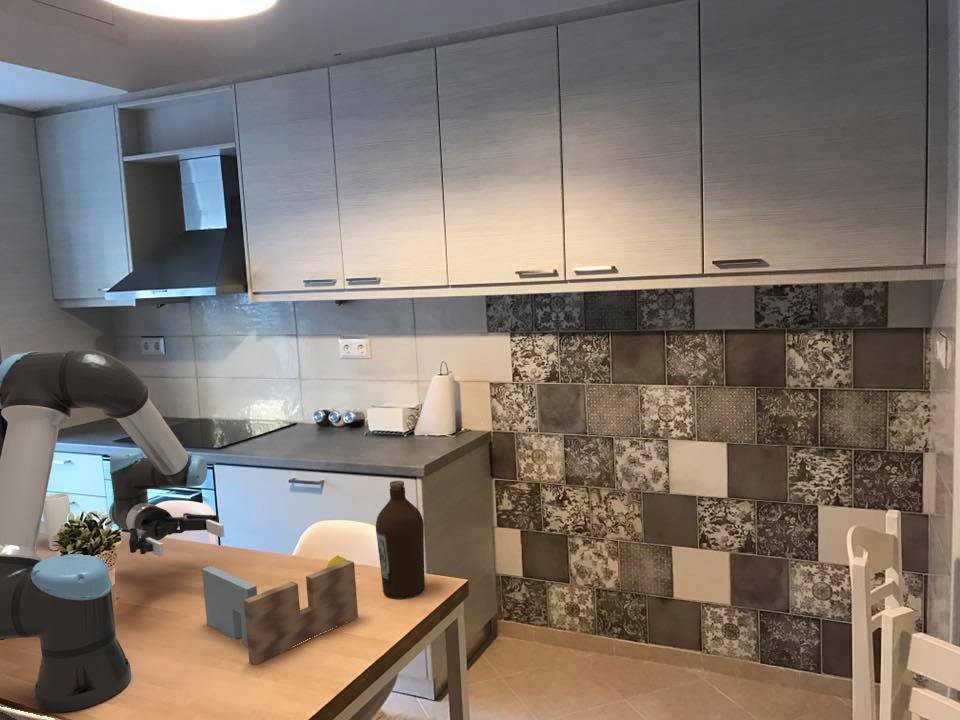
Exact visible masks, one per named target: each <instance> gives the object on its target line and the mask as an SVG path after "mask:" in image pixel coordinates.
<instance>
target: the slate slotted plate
mask: <svg viewBox="0 0 960 720" xmlns="http://www.w3.org/2000/svg"><path fill="white" fill-rule="evenodd" d="M201 575H202V576H201V577H202V584H203V594H204V606H205V616H206V624H207V626H210V627H212V628H213V629H216V631H219V632H220V633H223V634H224V635H225V636H228V637H230V638H231V639H233V640H237V639H240V638H242V644H243V645H244V646H245V647H248V643H247V632H246V621H245V610H244V600H245V599H248V598H250V597H253V596H255V595H258V588H257V585H255V584H253V583H250V582H249V581H247V580H243V579H242V578H239V577H237V576H234V575H232V574H231V573H228V572H226V571H224V570H221V569H219V568H217V567H214V566H211V565H209V566H206V567H204V568H201Z"/></svg>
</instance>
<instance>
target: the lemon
mask: <svg viewBox="0 0 960 720" xmlns="http://www.w3.org/2000/svg"><path fill="white" fill-rule="evenodd" d="M347 560H348V559H346V558H345V557H343V556H340V555H336V556H334V557H333V558H331V559H330V560H329V561H328V563H327V565H326V568H328V567H331V566H334V565H336V564H339V563H342V562H344V561H347Z"/></svg>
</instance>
